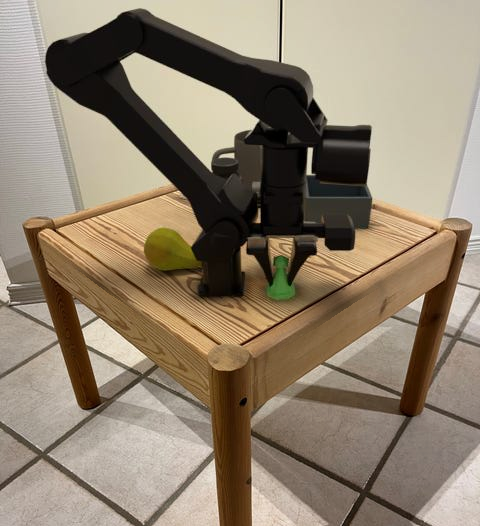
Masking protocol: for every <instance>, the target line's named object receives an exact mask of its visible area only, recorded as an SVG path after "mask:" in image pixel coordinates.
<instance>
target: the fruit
mask: <svg viewBox="0 0 480 526" xmlns="http://www.w3.org/2000/svg"><path fill="white" fill-rule="evenodd" d="M191 246H192V245H191V244H189V242H187V241H186V240H185V238H184V237H183V236H182V235H181V234H180V233H179V232H178V231H177V230H175V229H172V228H169V227H164V226H163V227H158V228H155V230H153V231H151V232H150V233H149V234H148V236H147V237H146V240H145V243H144V246H143V254H144V256H145V258H146V260H147V262H148V263H149V264H150V265H151V266H152V267H153V268H156V269H158V270H160V271H171V270H172V271H173V270H181V269H195V268H202V266H201V261H197V260H196V259H195V256H194V254H193V252H192V250H191Z"/></svg>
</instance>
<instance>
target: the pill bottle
mask: <svg viewBox="0 0 480 526" xmlns="http://www.w3.org/2000/svg"><path fill="white" fill-rule="evenodd" d="M238 168H239V166H238V160H236V159H234V157H227V156H226V157H219V158H217V159H214V160H212V159H211V161H210V169H211V170H210V171H211V172H212V171H213V172H212V173H213V174H215V175H217V176H219V177H221V178H224V179H226V180H228V179H229V178H230V176H231V175H232V174H235V175H236V176H237V177H238V178H239V179H240V181H241V182H242V184H243V178H242V176H241V175H240V174H239V173H237V170H238Z"/></svg>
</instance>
